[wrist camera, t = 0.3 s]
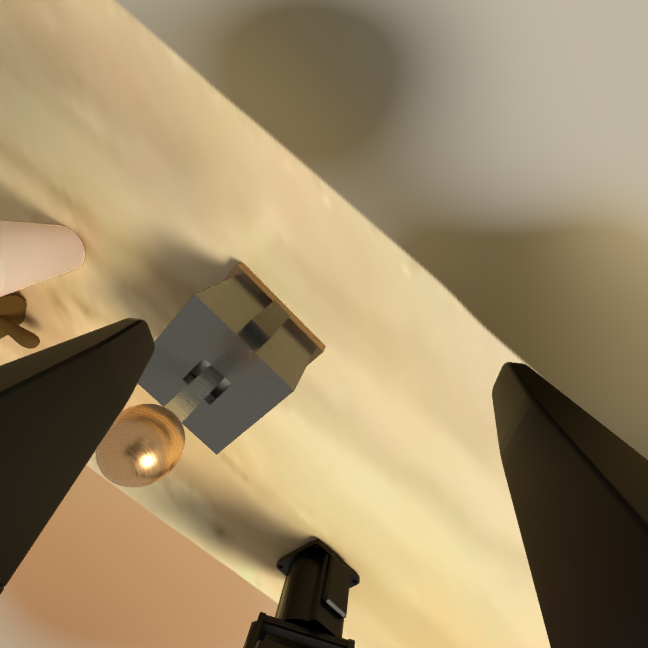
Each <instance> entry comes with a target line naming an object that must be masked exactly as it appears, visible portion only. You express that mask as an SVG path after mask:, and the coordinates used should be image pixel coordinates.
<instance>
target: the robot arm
mask: <svg viewBox="0 0 648 648" xmlns="http://www.w3.org/2000/svg"><path fill="white" fill-rule="evenodd" d="M154 349H155V344H154V341H153V338H152V335H151V332H150V330H149V327H148V324H147V323H146V321H145V320H142V319H135V318H127V319H124V320H121V321H119V322H116V323H113V324H111V325H108V326H105V327H103V328H100V329H97V330H95V331H92V332H89V333H87V334H84V335H81V336H79V337H76V338H73V339H71V340H68V341H65V342H63V343H60V344H57V345H55V346H52V347H49V348H47V349H44V350H41V351H38V352H36V353H33V354H30V355H28V356H25V357H22V358H20V359H17V360H14V361H12V362H9V363H6V364H4V365H1V366H0V594H1V592H2V591H3V590H4V586H6V584H7V583H8V582H9V580H10V578H11V577H12V575H13V574H14V572H15V571H16V569H17V568H18V566H19V565H20V563H21V562H22V560H23V559H24V557H25V556H26V554H27V553H28V551H29V550H30V548H31V547H32V545H33V544H34V542H35V540H36V539H37V538H38V536H39V535H40V533H41V532H42V530H43V529H44V527H45V525H46V524H47V523H48V521H49V520H50V518H51V517H52V515H53V514H54V512H55V511H56V509H57V508H58V506H59V505H60V503H61V502H62V500H63V499H64V497H65V496H66V494H67V493H68V491H69V490H70V488H71V486H72V485H73V483H74V482H75V480H76V479H77V477H78V476H79V474H80V473H81V471H82V470H83V468H84V467H85V465H86V464H87V462H88V461H89V459H90V458H91V456H92V455H93V453H94V452H95V450H96V449H97V447H98V446H99V444H100V443H101V441H102V440H103V438H104V437H105V435H106V434H107V432H108V431H109V429H110V428H111V426H112V425H113V423H114V422H115V420H116V419H117V417H118V416H119V414H120V413H121V411H122V410H123V408H124V406H125V405H126V403H127V402H128V400H129V398H130V396H131V395H132V393H133V391H134V389H135V387H136V385H137V383H138V381H139V380H140V378H141V376H142V374H143V372H144V370H145V368H146V366H147V364H148V362H149V361H150V359H151V357H152V355H153V353H154ZM492 399H493V406H494V413H495V420H496V428H497V435H498V442H499V449H500V455H501V459H502V464H503V468H504V472H505V476H506V479H507V483H508V487H509V491H510V494H511V498H512V502H513V506H514V510H515V513H516V517H517V521H518V525H519V529H520V532H521V536H522V540H523V544H524V548H525V551H526V555H527V559H528V563H529V567H530V570H531V574H532V578H533V582H534V586H535V589H536V593H537V597H538V601H539V605H540V608H541V612H542V616H543V620H544V623H545V627H546V631H547V635H548V639H549V642H550V646H551V648H648V460H647V459H646V458H644V457H643V456H642V455H641V454H639V453H638V452H637V451H635V450H634V449H633V448H632V447H630V446H629V445H628V444H627V443H625V442H624V441H623V440H621V439H620V438H619V437H618V436H616V435H615V434H614V433H613V432H611V431H610V430H609V429H607V428H606V427H605V426H603V425H602V424H601V423H600V422H599V421H597V420H596V419H595V418H594V417H592V416H591V415H590V414H588V413H587V412H586V411H585V410H583V409H582V408H581V407H580V406H578V405H577V404H575V403H574V402H573V401H572V400H570V399H569V398H568V397H567V396H565V395H564V394H563V393H562V392H560V391H559V390H558V389H556V388H555V387H554V386H553V385H551V384H550V383H549V382H548V381H546V380H545V379H544V378H543V377H541V376H540V375H539V374H537V373H536V372H535V371H534V370H532V369H531V368H530V367H529V366H527V365H525V364H521V363H512V362H507V363H505V364H504V365H503V366H502V368H501V371H500V373H499V375H498V377H497V380H496V382H495V384H494V386H493V390H492ZM276 566H277V568H278V569H279V570H280V571H281V572H282V573H284V574H285V575H286V579H285V582H284V586H283V590H282V593H281V597H280V601H279V604H278V608H277V612H276V615H275V617H272V616H268V615H266V613H263V612H260V614H259V617H258V620H257V621H254V622H252V624H251V627H250V630H249V633H248V636H247V639H246V642H245V645H244V647H243V648H354V646H355V640H352V639H348V640H347V639H344V638H342V632H343V623H344V618H345V617H346V614H347V604H348V594H349V588H351V587H353V586H355V585H357V584H359V581H360V577H359V575H357V574H356V573H355V572H354V571H353V570H352V569H351V568H350V567H349V566H348V565H346V564H345V563H344V562H343V561H342V560H341V559H340V558H339V557H338V556H336V555H335V554H334V553H333V552H332V551H331V550H330V549H329V548H328V547H327V546H325V545H324V544H323V543H322V542H321V541H320V540H314V541H312V542H310V543H308V544H307V545H305V546H303V547H301V548H299V549H298V550H296V551H294V552H292V553H290V554H289V555H287V556H285V557H283V558H282V559H280V560H278V562H277V565H276Z"/></svg>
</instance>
